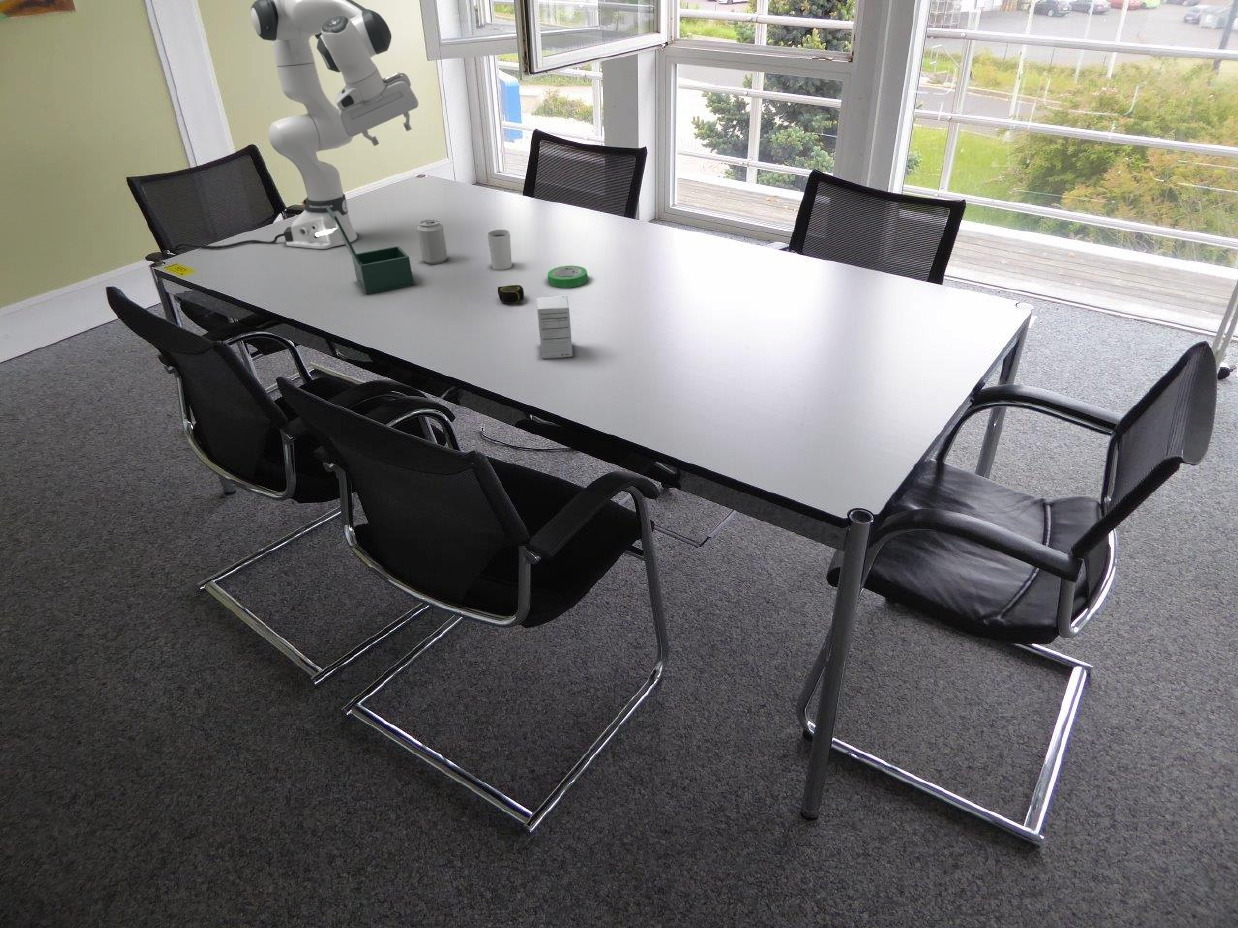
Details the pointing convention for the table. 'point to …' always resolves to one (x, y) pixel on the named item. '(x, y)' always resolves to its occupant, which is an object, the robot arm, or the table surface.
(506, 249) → the white cup
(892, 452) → the table surface
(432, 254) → the can
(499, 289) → the tape measure
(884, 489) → the table surface
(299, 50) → the robot arm
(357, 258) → the tin lid
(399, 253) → the tin
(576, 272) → the tape roll
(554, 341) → the white packaging box
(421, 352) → the table surface
